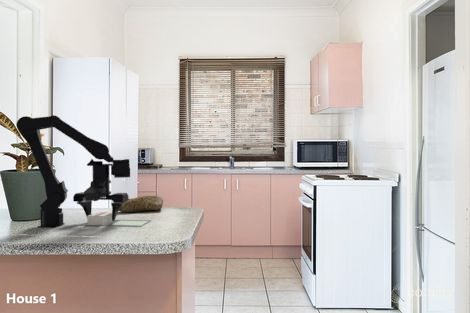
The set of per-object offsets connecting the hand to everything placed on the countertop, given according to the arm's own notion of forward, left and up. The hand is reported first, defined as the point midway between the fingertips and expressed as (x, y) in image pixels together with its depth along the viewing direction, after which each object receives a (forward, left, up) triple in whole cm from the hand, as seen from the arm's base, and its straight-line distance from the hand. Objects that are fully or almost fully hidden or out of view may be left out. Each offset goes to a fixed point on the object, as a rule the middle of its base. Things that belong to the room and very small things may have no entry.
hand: (101, 220), depth 140 cm
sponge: (+4, +28, -1) cm, 28 cm away
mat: (+6, 0, -1) cm, 6 cm away
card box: (0, 0, -1) cm, 1 cm away
